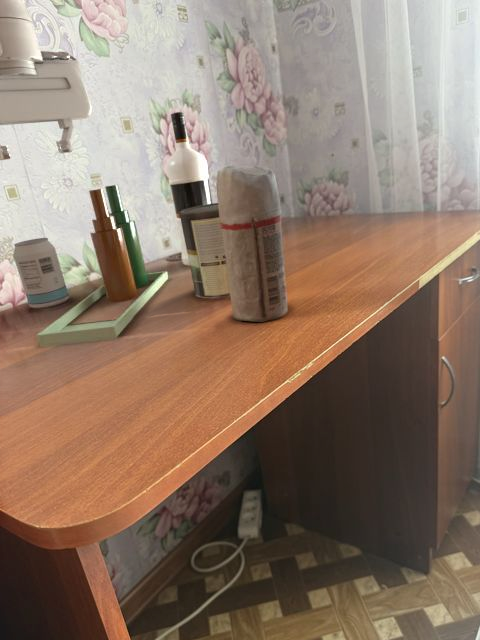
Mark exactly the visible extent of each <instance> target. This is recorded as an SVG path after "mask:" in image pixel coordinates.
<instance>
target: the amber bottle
mask: <svg viewBox="0 0 480 640" xmlns="http://www.w3.org/2000/svg"><path fill="white" fill-rule="evenodd" d="M88 193H89V196H90V200H91V204H92V208H93V212H94V216H95V218H92V219H91V222H92V226H93V230H92V231H90V232H89V234H90V237H91V241H92V245H93V249H94V253H95V257H96V260H97V264H98V268H99V272H100V277H101V280H102V282H103V284H104V287H105V291H106V293H105V295H106V299H107V301H108V303H122V302H126V301H127V302H128V301H130V300H134V299H135V298H138V297H139V293H138V289H136V285H135V281H134V276H133V272H132V268H131V264H130V260H129V256H128V251H127V247H126V243H125V239H124V235H123V231H122V227H117V226H116V222H115V218H114V216H109V213H110V212H109V208H108V205H107V200H106V196H105V192H104V189H103V187H102V188H101V187H100V188H94V189H89V190H88ZM103 284H102V285H103Z"/></svg>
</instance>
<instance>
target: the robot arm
mask: <svg viewBox="0 0 480 640" xmlns="http://www.w3.org/2000/svg"><path fill="white" fill-rule="evenodd" d="M39 43H40V42H39V40H38V35H37V32H36V28H35V26H34V21H33V19H32V17H31V15H30V13H29V11H28V8H27V5H26V0H0V126H9V125H21V124H23V125H24V124H35V123H51V122H52V123H53V122H57V125H58V128H59V129H60V130H62V133H61V139H60V140H57V141H55V143H56V146H57V148H58V149H57V150H58V153H59V154H67V153H73V146H72V143H71V139H72V135H73V131H74V128H75V126H74V122H73V121H78V120H79V121H80V120H84V119H87V118H90V117H91V114H92V113H93V112H92V111H93V106H92V102H91V99H90V96H89V92H88V90H87V87H86V85H85V82H84V78H83V77H84V76H83V71H82V67H81V63H80V62H79V61H78V59H77V58H76V57H74V56H73V55H71V54H69V52H67V51H58V52H57V51H47V50H46V51H45V50H41V48H40V47H41V46H40V44H39ZM9 152H10V151H9V147H8V145H1V144H0V161H6V160H11V154H10V153H9Z"/></svg>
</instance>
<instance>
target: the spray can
mask: <svg viewBox="0 0 480 640" xmlns="http://www.w3.org/2000/svg"><path fill="white" fill-rule="evenodd" d="M215 188H216V196H217V197H216V198H217V203H218V208H219V217H220V227H221V232H222V239H223V246H224V249H223V250H224V251H225V260H226V267H227V278H228V286H229V293H230V296H229V299H230V306H231V311H232V315H231V318H232V319H234V320H236V321H240V322H241V321H245V322H251V323H253V322H256V323H257V322H258V323H261V322H267V321H272V320H276V319H279V318H281V317H283V316H284V315H286V314H287V313H288V311H289V308H288V298H287V297H288V294H287V285H286V284H287V283H286V272H285V259H284V249H283V248H284V247H283V235H282V234H283V233H282V218H281V217H282V205H281V199H280V195H279V189H278V185H277V179H276V174H275V172H274V170H273V169H272V168H270V167H267V166H265V165H259V166H258V165H241V166H234V165H232V166H230V165H229V166H223V167H222V168H221V169H219V170H217V174H216V185H215Z"/></svg>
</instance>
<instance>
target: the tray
mask: <svg viewBox="0 0 480 640" xmlns="http://www.w3.org/2000/svg"><path fill="white" fill-rule="evenodd" d="M147 276H148V280H149V282H152V281H153V282H152V283H151V284H149V285H148V286H149V287H147V288H146V289H145V290H144V291H143V292H142V293H141V294H140V295H139V296H138V297H137V299H136V300H135V301H134V302H133V303H132V304H130V306H128V308H127V309H126V310H125V311H124V312H123V313H122V314H120V316H119V317H118V318H117V319H107V320H99V321H90V322H82V323H81V322H80V323H72V324H70V323H71V322H73V321H74V320H75V319H76V318H77V317H79V315H81V314H82V313H83V312H85V311H86V310H87V309H88V308H89V307H91V306H92V305H93V304H94V303H96V302H97V301H98V300H99V299H100V298H102V297H103V296H104V295H106V291H105V287H104V284H102V285H101V286H99V287H98V288H96V289H95V290H94V291H93V292H91V293H90V294H89V295H87V296H86V297H85V298H84V299H82V300H81V301H79V302H78V303H77V304H76V305H74V306H73V307H72V308H70V309H69V310H67V311H66V312H65V313H63V314H62V315H61V316H60V317H59V318H57V319H56V320H55V321H54V322H52V323H51V324H49V325H48V326H47V327H46V328H44V329H43V330H42V331H39V332H38V334H36V337H37V340H38V343H39V345H40V347H41V348H44V347H51V346H52V347H53V346H61V345H69V344H71V345H72V344H79V343H88V342H89V343H90V342H96V341H97V342H98V341H106V340H117V339H118V338H119V335H120V334H121V333H122V332H123V331H124V329H126V327H127V326H128V325H129V324H130V323H131V321H133V319H134V318H135V316H136V315H137V314H138V313H139V311H140V310H141V309H142V308H143V307H144V306H145V305H146V304H147V302H148V301H149V300H150V299H151V298H152V297H153V296H154V295H155V293H156V292H157V291H158V290H159V289H160V288H161V287H162V286H163V285H164V283H165V282H167V280H168V279H169V274H168V271H167V270H165V271H156V272H147Z"/></svg>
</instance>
